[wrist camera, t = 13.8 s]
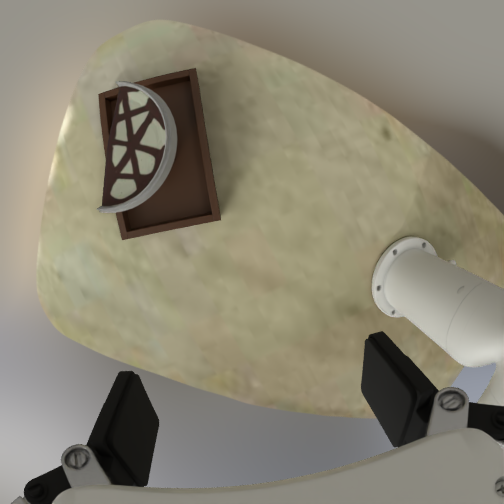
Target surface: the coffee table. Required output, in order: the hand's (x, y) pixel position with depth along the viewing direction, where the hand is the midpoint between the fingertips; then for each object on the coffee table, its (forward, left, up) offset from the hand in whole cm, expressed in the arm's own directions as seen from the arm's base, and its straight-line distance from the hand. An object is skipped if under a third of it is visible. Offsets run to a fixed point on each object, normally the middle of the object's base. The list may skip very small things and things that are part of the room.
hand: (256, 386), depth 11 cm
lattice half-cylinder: (+6, -12, -25) cm, 28 cm away
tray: (+6, -12, -26) cm, 29 cm away
